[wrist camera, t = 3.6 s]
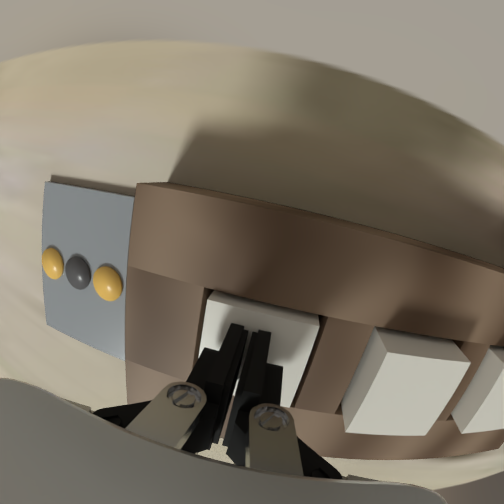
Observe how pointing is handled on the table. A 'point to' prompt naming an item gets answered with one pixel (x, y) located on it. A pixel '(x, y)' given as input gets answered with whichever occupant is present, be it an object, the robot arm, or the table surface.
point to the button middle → (402, 383)
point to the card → (86, 264)
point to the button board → (303, 304)
